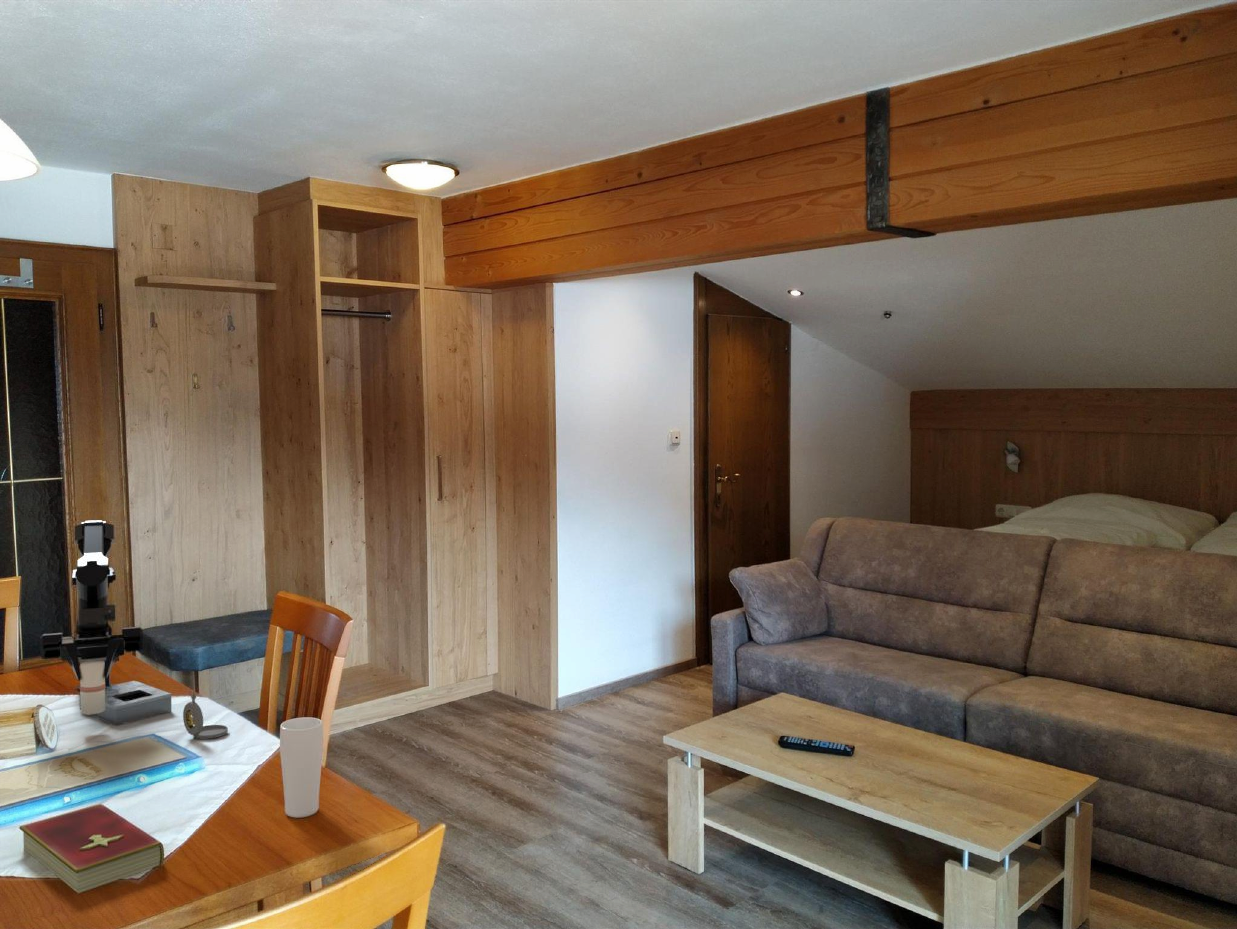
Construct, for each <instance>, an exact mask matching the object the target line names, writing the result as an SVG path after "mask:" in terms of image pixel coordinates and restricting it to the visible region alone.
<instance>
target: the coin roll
mask: <svg viewBox="0 0 1237 929" xmlns="http://www.w3.org/2000/svg"><path fill="white" fill-rule="evenodd" d="M79 667H80V681H79V682H80V685H79V686H80V690H79V691H80V692H81V711H80V713H81V714H82V715H90V714H96V713H101V712H103V711H105V661H103V660H90V661H85V662H82V663H80V666H79Z"/></svg>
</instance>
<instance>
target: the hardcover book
mask: <svg viewBox="0 0 1237 929" xmlns="http://www.w3.org/2000/svg"><path fill="white" fill-rule="evenodd" d="M19 830H20V831H21V832H23V836H22V837H23V850H24V851H26V852H27V853H28V854H29V855H30V856H32V857H33V858H35V859H36V860H37V862H39V863H40V864H41V865H43V867H45V868H46V869H48V871H50V872H51V873H52V874H53V875H55V876H56V877H57V878H58V879H60V880H61V881H62V882H63V883H65V884H66V885H67V886H68V887H69V888H71V889H72V890H73V891H74V892H76V893H77V894H81V893H85V892H86V891H90V890H92V889H95V888H99V887H102V886H103V885H107V884H109V883H112V882H115V881H118V880H121V879H124V878H126V877H130V876H132V875H135V874H138V873H141V872H144V871H148V870H150V869H152V868H156V867H158V866H159V867H162V866H164V861H165V849H164V844H163V843H162V842H161V841H160V840H158V839H157V838H156V837H153V836H152V835H151V834H149V833H147V832H146V831H144V830H143V829H141V828H140V827H138V826H137V825H135V824H133V823H132V822H130V821H129V820H127V819H126V818H124V817H122V816H121V815H119V814H118V813H116V812H115V811H113V810H112V809H110V808H109V807H107V806H106V805H104V804H102V803H96V804H94V805H90V806H86V807H83V808H79V809H75V810H73V811H69V812H65V813H62V814H58V815H55V816H50V817H47V818H44V819H41V820H37V821H33V822H30V823H26V824H23V825H19Z"/></svg>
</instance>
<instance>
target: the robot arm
mask: <svg viewBox="0 0 1237 929" xmlns="http://www.w3.org/2000/svg"><path fill="white" fill-rule="evenodd" d="M73 527H74V529H73V530H74V531H73V532H74V538H73V539H74V541H73V543H74V545H77V547H78V548H77V550H78V553H79V555H80V556H81V557H80V558H79V559H78V560H76V569H73V570H72V575H71V576H72V580H71V581H72V582H71V583H72V586H74V587H75V586H76V594H77V619H76V622H75V623H76V624H75V626H76V627H75V632H76V634H75V635H76V637H74V636H63V632H56V633H55V632H54V633H43V634H42V635H41V636H40V637H39V652H40V659H42V660H53V659H60V660H61V662H67V664H68V665H69V666H70V667H71V670H73V673H74V675H75V677H76V679H77V682H78V681H79V682H80V663H82V662H85V661H90V660H103V661H105V687H107V686H111V685H116V684H114V683H112V682H111V669H112V668H113V666H114V664H115V663H117V662H118V661H120V657H121V656H124V655H125V652H126V653H130V652H140V651H142V650H143V648H144V631H143V628H142V627H141V626H129V627H121V633H122V634H113V628H112V627H111V626H110V624H109V623H110V622H115V621H116V604H109V593H108V591H109V590H108V589H109V588H110V584H113V583H114V581H116V580H117V575H116V572H115V571H114V568H113V567H110V559H109V557H108V556H109V555H110V553H111V551H112V543H115V525H114V524H111V523H107V521H103V520H100V519H99V520H84V521H82V522H81V524H78V525H75V526H73ZM75 689H76V690H79V691H80V685H77V686H76V688H75Z"/></svg>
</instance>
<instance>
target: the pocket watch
mask: <svg viewBox="0 0 1237 929" xmlns="http://www.w3.org/2000/svg"><path fill="white" fill-rule="evenodd" d="M188 694H189V696H190V698H191V701H189V702H187V703H186V704H185V705H184V708H183V712H182V718H183V720H182V721H183V724H184V727H185V730H186V731H187V733H188V734H189V735H190V736H193V737H194V738H197V739H206V740H207V739H214V738H218V737H219V738H220V737H221V736H224V735H226V734H227V733H228V730H229V729H228V727H227V726H226V725H222V724H209V725H204V714H203V711H202V709H201V707H200V705H199V704H198V703H197V702H196V701H195V700H196V699H197V695H196V693H195V692H194V691H193V690H189V691H188Z"/></svg>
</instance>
